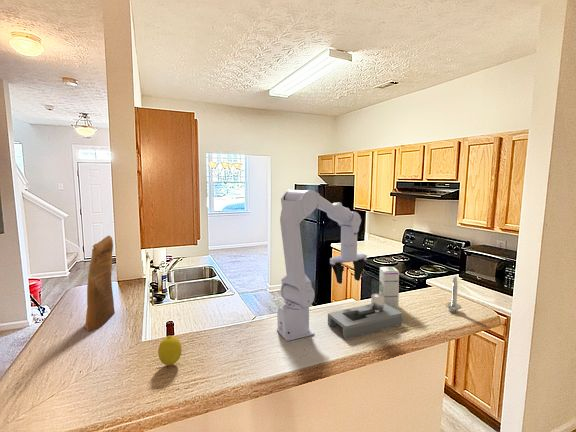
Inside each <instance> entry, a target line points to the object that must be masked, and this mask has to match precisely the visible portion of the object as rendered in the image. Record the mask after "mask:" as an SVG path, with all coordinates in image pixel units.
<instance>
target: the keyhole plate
mask: <svg viewBox="0 0 576 432" xmlns="http://www.w3.org/2000/svg"><path fill="white" fill-rule="evenodd" d="M403 314H404V312H401V311H400V310H399V309H398V310H396V309H394V308H392V307H390V306H389V305H387V304H385V303H384V309H383V310H380V312H378V313H375V310H374V309H372V308H371V303H369V304H365V305H359V306H356V307H349V308H346V309H342V310H337V311H331V312H328V313H327V326H328V327H330V328H332V327H335V326H340V327H342V338H344V339H345V340H347V339H352V338H355V337H360V336H364V335H368V334H371V333H376V332H379V331H383V330H386V329H391V328H394V327H397V326H398V327H399V326H402V325H403Z"/></svg>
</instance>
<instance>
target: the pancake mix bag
mask: <svg viewBox="0 0 576 432" xmlns="http://www.w3.org/2000/svg"><path fill="white" fill-rule="evenodd" d="M113 250H114V242H113V237H112V236H110V235H107V236H105V237H103V238H102V239H101V240H100V241H99V242H97V243H95V244H93V245H92V249H91V257H90V263H89V267H88V272H87V286H86V288H87V290H86V305H87V307H86V314H85V330H87V332H91V331H94V330H97V329H100V328H101V327H103V326H104V325H105V323H106V322H107V321H109V319H110V318H111V317H112V316H113V315H114V314H115V303H114V295H113V294H114V293H113V283H112V267H113Z"/></svg>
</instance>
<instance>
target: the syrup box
mask: <svg viewBox="0 0 576 432" xmlns="http://www.w3.org/2000/svg"><path fill="white" fill-rule="evenodd" d="M399 282H400V271H399V270H398V269H397V268H396V267H395V266H380V267H379V284H378V285H379V290H378V292H379V293H378V294H382V295H384V303H385V304H387V305H389V306H390V307H392V308H394V309H396V310H398V311H399V302H400V301H399V298H400V297H399V296H400V295H399V294H400V292H399V291H400V287H399V286H400V283H399Z"/></svg>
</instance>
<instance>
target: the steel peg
mask: <svg viewBox="0 0 576 432" xmlns="http://www.w3.org/2000/svg"><path fill="white" fill-rule="evenodd" d="M370 298H371V300H370V301H371V302H370V304H371V308H372V309H374V310H375V313H378V312H380V310H383V309H384V295H382V294H379V293H375V292H374V293H372V294H371V297H370Z"/></svg>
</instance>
